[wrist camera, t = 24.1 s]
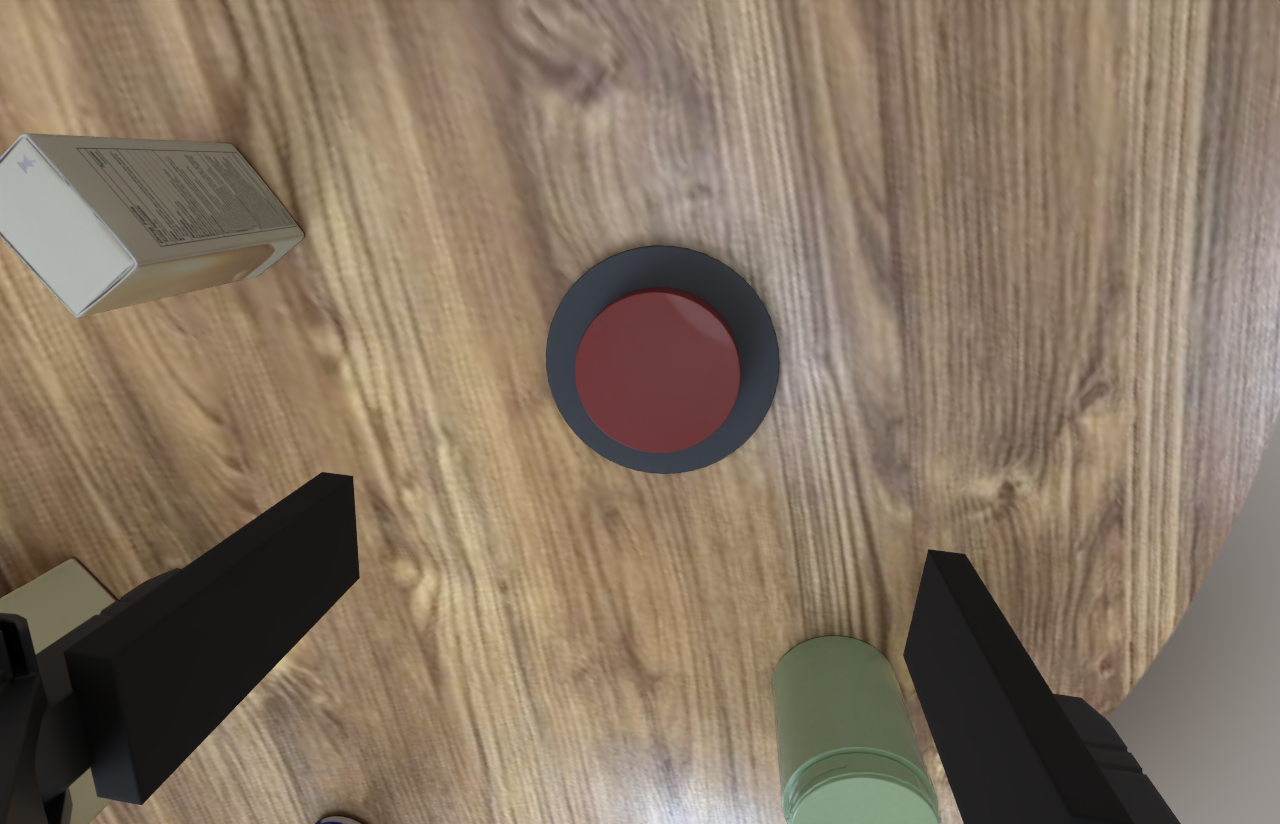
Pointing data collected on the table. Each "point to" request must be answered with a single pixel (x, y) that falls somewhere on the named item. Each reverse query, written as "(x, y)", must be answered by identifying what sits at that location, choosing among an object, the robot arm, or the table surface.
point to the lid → (658, 370)
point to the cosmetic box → (137, 217)
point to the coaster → (704, 282)
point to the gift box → (51, 615)
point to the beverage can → (337, 820)
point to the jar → (847, 739)
